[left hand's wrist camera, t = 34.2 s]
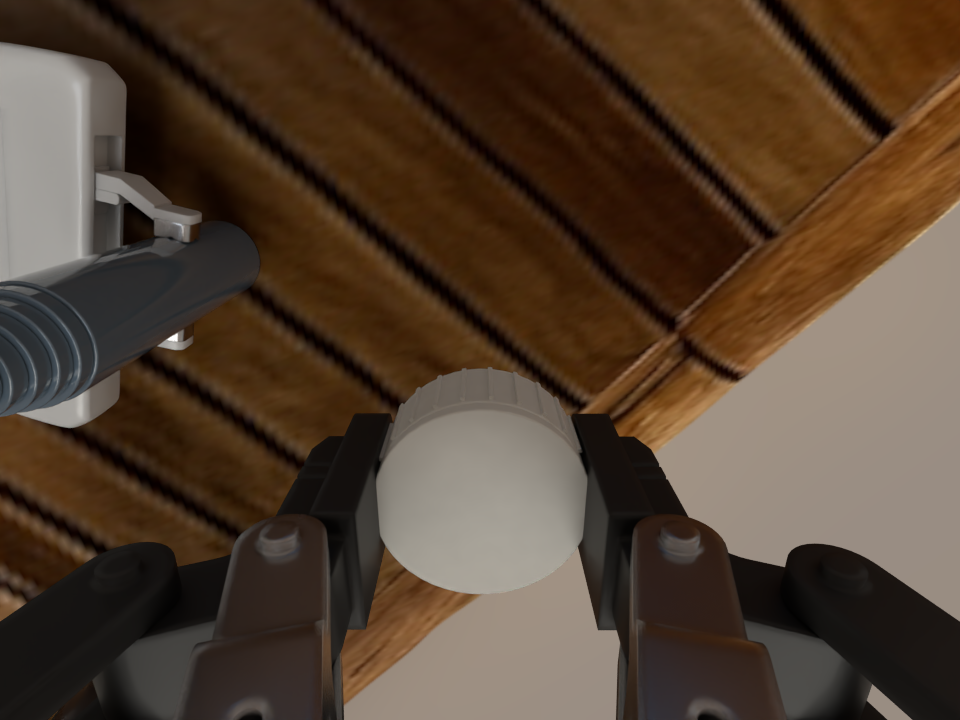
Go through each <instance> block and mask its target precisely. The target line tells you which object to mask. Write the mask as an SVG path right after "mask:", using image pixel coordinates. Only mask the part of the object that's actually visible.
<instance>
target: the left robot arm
mask: <svg viewBox="0 0 960 720" xmlns="http://www.w3.org/2000/svg"><path fill="white" fill-rule="evenodd" d="M571 419H572V422H573V425H574V428H575V431H576V434H577V437H578V440H579V443H580V446H581V449H582V453H580V454H581V457H582V460H583V463H584V466H585V469H586V472H587V477H588V479H587V493H586V505H585V518H584V530H583V539H582V541H581V542H580V544H579V545H578V549H579V553H580V557H581V561H582V565H583V569H584V574H585V578H586V582H587V586H588V590H589V594H590V598H591V603H592V607H593V611H594V615H595V619H596V624H597V628H598V630H617V633H618V636H619V640H620V649H619V658H618V673H617V706H616V720H887V719H886V718H885V717H884V716H883V715H882V714H880V713H879V712H878V711H877V710H876V709H875V708H874V707H873V706H872V705H871V704H870V703H869V702H867V698H868V695H869V692H870V689H871V686H872V684H873V685H874V686H875V687H876V688H877V689H879V690H880V691H881V692H882V693H883V694H884V695H885V696H887V697H888V698H889V699H890V700H891V701H892V702H893V703H894V704H895V705H897V706H898V707H899V708H900V709H901V710H902V711H903V712H904V713H906V714H907V715H908V716H909V717H910V718H911V719H912V720H960V621H958V620H957V619H955V618H954V617H952V616H951V615H949V614H948V613H946V612H945V611H944V610H942V609H941V608H939V607H938V606H936V605H935V604H933V603H932V602H930V601H929V600H928V599H926V598H925V597H923V596H922V595H920V594H919V593H917V592H916V591H914V590H913V589H912V588H910V587H909V586H907V585H906V584H904V583H903V582H901V581H900V580H898V579H897V578H896V577H894V576H893V575H891V574H890V573H888V572H887V571H885V570H884V569H883V568H881V567H880V566H878V565H877V564H875V563H874V562H872V561H870V560H869V559H867V558H865V557H863V556H861V555H859V554H857V553H854V552H852V551H849V550H846V549H843V548H840V547H836V546H832V545H825V544H805V545H801V546H798V547H796V548H794V549H793V550H791V552H790V553H789V554H788V557H787V561H786V566H785V567H781V566H776V565H772V564H767V563H763V562H758V561H753V560H749V559H745V558H741V557H738V556H735V555H732V554H730V553H728V550H727V547H726V544H725V542H724V541H723V539H722V538H721V537H720V535H719V534H718V533H717V532H715V531H714V530H713V529H712V528H710V527H709V526H707V525H706V524H704V523H702V522H700V521H697V520H695V519H692V518H689V517H688V515H687V513H686V512H685V510H684V508H683V506H682V504H681V503H680V501H679V499H678V497H677V495H676V494H675V492H674V490H673V488H672V486H671V485H670V483H669V481H668V480H667V479H666V476H665V474H664V472H663V470H662V468H661V467H659V463H658V461H657V459H656V458H655V456H654V454H653V452H652V450H651V449H650V448H649V447H647V446H646V445H644V444H643V443H642V442H640V441H639V440H638V439H636V438H635V437H619V436H618V434H617V431H616V429H615V427H614V425H613V423H612V421H611V419H610V416H609V415H608V414H572V417H571ZM390 423H392V417H391V414H390V413H356V414H355V415H354V416H353V418H352V421H351V423H350V425H349V427H348V429H347V432H346V434H345V436H329V437H328V438H326V439H325V440H324V441H322V442H321V443H320V444H318V445H317V446H316V447H314V448H313V449H312V450H311V452H310V454H309V456H308V458H307V460H306V461H305V463H304V467H302V469H301V471H300V472H299V474H298V479H296V480H295V482H294V483H293V485H292V487H291V489H290V491H289V493H288V494H287V496H286V498H285V500H284V502H283V504H282V505H281V507H280V509H279V511H278V513H277V515H276V516H274V517H271V518H268V519H265V520H263V521H260V522H258V523H256V524H254V525H253V526H251V527H250V528H248V529H247V530H246V531H245V532H243V533H242V534H241V535H240V537H239V538H238V539H237V541H236V542H235V544H234V547H233V550H232V554H230V555H227V556H224V557H221V558H217V559H213V560H208V561H203V562H199V563H194V564H189V565H185V566H180V567H177V563H176V559H175V555H174V553H173V551H172V550H171V549H170V548H169V547H167V546H165V545H163V544H159V543H154V542H141V543H133V544H128V545H124V546H120V547H117V548H114V549H111V550H109V551H107V552H104V553H102V554H100V555H98V556H96V557H94V558H93V559H91V560H89V561H88V562H86V563H85V564H83V565H82V566H80V567H79V568H77V569H76V570H75V571H73V572H72V573H70V574H69V575H67V576H66V577H64V578H63V579H61V580H60V581H59V582H57V583H56V584H54V585H53V586H51V587H50V588H48V589H47V590H46V591H44V592H43V593H41V594H40V595H38V596H37V597H35V598H34V599H32V600H31V601H30V602H28V603H27V604H25V605H24V606H22V607H21V608H19V609H18V610H16V611H15V612H14V613H12V614H11V615H9V616H8V617H6V618H5V619H3V620H2V621H1V622H0V720H48V719H49V718H50V717H51V716H52V715H53V714H54V713H56V712H57V711H58V712H57V713H56V715H55V716H54V717H53V719H52V720H344V706H343V672H342V658H341V650H342V647H343V643H344V639H345V636H346V632H347V629H366V626H367V622H368V617H369V613H370V609H371V605H372V600H373V596H374V592H375V587H376V583H377V579H378V575H379V570H380V566H381V562H382V557H383V553H384V549H385V544H384V542H383V540H382V538H381V536H380V528H379V515H378V502H377V489H376V476H377V473H378V469H379V466H380V463H381V461H379V456H380V453H381V450H382V447H383V443H384V440H385V437H386V434H387V431H388V428H389V425H390Z"/></svg>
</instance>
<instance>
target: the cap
mask: <svg viewBox="0 0 960 720" xmlns="http://www.w3.org/2000/svg"><path fill="white" fill-rule="evenodd" d="M580 453H582V449H581V446H580V443H579V440H578V437H577V434H576V431H575V428H574V425H573V422H572V419H571V416H570V415H568V416H567V415H566V413H565V411H564V410H563V409H562V407H561V406H560V403H559V400H558V398H557V397H554V398H553V397H552V396H551V395H550V394H549V393H548V392H547V391H545V390H544V389H543V388H542V387H541V386H540V383H538V382H536V383H534V382H532V381H530V380H529V379H526V378H524V377H521V376H519V375H518V374H517V372H513V373H510V372H506V371H501V370H494V369H492V367H488V369H470V370H466V368H464V369H462V371H458V372H454V373H451V374H448V375H445V376H442V375H439V376H438V377H437V379H436V380H434V381H432V382H430V383H428V384H427V385H425V386H424V387H422V388H420V387H418V388H417V389H416V393H415V394H414V395H412V396H411V397H410V398H409V399H408V401H407V402H406V403H405V404H403V403H402V404H401V405H400V407H399V410H398V414H397V416H396V418H395V420H394V423H390V425H389V428H388V431H387V434H386V437H385V440H384V443H383V447H382V450H381V453H380V456H379V461H381V463H380V466H379V469H378V473H377V476H376V489H377V502H378V515H379V528H380V536H381V538H382V540H383V542H384V544H385V546H386V547H387V548H388V550H389V551H390V552H391V554H392V555H393V556H394V557H395V558H396V559H397V560H398V561H399V563H400V564H401V565H403V566H404V567H405V568H406V569H408V570H409V571H410V572H411V573H413V574H415V575H416V576H418V577H419V578H421V579H423V580H425V581H427V582H429V583H431V584H433V585H436V586H439V587H441V588H444V589H448V590H452V591H456V592H462V593H469V594H494V593H502V592H507V591H513V590H516V589H519V588H523V587H526V586H528V585H530V584H533V583H535V582H537V581H539V580H541V579H543V578H545V577H546V576H548V575H549V574H551V573H552V572H554V571H555V570H556V569H558V568H559V567H560V566H561V565H562V564H563V563H564V562H566V561H567V560H568V558H569V557H570V556H571V555H572V554H573V552H574V551H575V550H576V548H577V547H578V545H579V544H580V542H581V541H582V539H583V530H584V518H585V505H586V493H587V479H588V477H587V472H586V469H585V466H584V463H583V460H582V457H581V454H580Z"/></svg>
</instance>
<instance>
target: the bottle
mask: <svg viewBox="0 0 960 720" xmlns="http://www.w3.org/2000/svg"><path fill="white" fill-rule="evenodd" d="M259 268H260V259H259V254H258V251H257V248H256V246H255V244H254V242H253V241H252V239H251V238H250V237H249V236H248V235H247V234H246V233H245V232H244V231H243V230H242V229H240V228H239V227H237V226H235V225H234V224H231V223H229V222H225V221H219V220H213V221H207V222H204V223H201V230H200V239H199V240H194V242H179V241H176V240H174V239H173V238H172V237H170V238H163V237H158V236H156V237H152V238H149V239H145V240H142V241H138V242H135V243H132V244H128V245H125V246H121V247H118V248H114V249H111V250H108V251H104V252H101V253H97V254H94V255H90V256H87V257H83V258H80V259H77V260H73V261H70V262H66V263H63V264H59V265H56V266H53V267H49V268H46V269H42V270H39V271H35V272H32V273H28V274H25V275H22V276H18V277H15V278H11V279H8V280H4V281H1V282H0V417H2V416H9V415H13V414H16V413H22V412H29V411H33V410H36V409H43V408H49V407H53V406H55V405H58V404H60V403H62V402H64V401H68V400H71V399H73V398H75V397H77V396H79V395H80V394H82V393H84V392H85V391H87V390H88V389H90V388H92V387H93V386H95V385H96V384H98V383H99V382H101V381H103V380H104V379H106V378H107V377H109V376H111V375H112V374H114V373H115V372H117V371H118V370H120V369H122V368H123V367H125V366H126V365H128V364H130V363H131V362H133V361H134V360H136V359H137V358H139V357H141V356H142V355H144V354H145V353H147V352H149V351H150V350H152V349H153V348H155V347H156V346H158V345H160V344H161V343H163V342H164V341H166V340H167V339H169V338H171V337H172V336H174V335H175V334H177V333H179V332H180V331H182V330H183V329H185V328H186V327H188V326H190V325H191V324H193V323H194V322H196V321H198V320H199V319H201V318H202V317H204V316H205V315H207V314H209V313H210V312H212V311H213V310H215V309H217V308H218V307H220V306H221V305H223V304H224V303H226V302H228V301H229V300H231V299H232V298H234V297H235V296H237V295H239V294H240V293H242V292H243V291H245V290H247V289H248V288H249V287H250V286H251V285H252V284H253V283H254V281H255V280H256V278H257V276H258V273H259Z"/></svg>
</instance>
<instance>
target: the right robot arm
mask: <svg viewBox="0 0 960 720" xmlns="http://www.w3.org/2000/svg"><path fill="white" fill-rule="evenodd" d="M126 96H127V90H126V85H125V83H124V81H123V80H122V79H121V77H120V76H119V75H118V74H117V73H116V72H115V71H114V70H113V69H112V68H111V67H110V66H109V65H108V64H107V63H105V62H102V61H98V60H94V59H90V58H86V57H82V56H77V55H73V54H68V53H63V52H58V51H53V50H47V49H42V48H36V47H31V46H25V45H19V44H12V43H5V42H0V282H1V281H4V280H8V279H11V278H15V277H18V276H22V275H25V274H28V273H32V272H35V271H39V270H42V269H46V268H49V267H53V266H56V265H59V264H63V263H66V262H70V261H73V260H77V259H80V258H83V257H87V256H90V255H94V254H97V253H101V252H104V251H108V250H111V249H114V248H118V247H121V246H123V220H124V204H125V203H130V202H131V203H132V204H133V205H134V206H136V207H137V208H138V209H140V210H141V211H142V212H144V213H145V214H146V215H147V216H149V217H150V218H151V219H153V220H154V236H158V237H163V238H170V237H172V238H173V239H174V240H176V241H179V242H194V240H199V239H200V230H201V222H202V213H201V212H199V211H196V210H192V209H188V208H184V207H180V206H176V205H172V202H171V201H170V200H169V199H168V198H167V197H165V196H164V195H163V194H162V193H161V192H160V191H159V190H157V189H156V188H155V187H154V186H153V185H152V184H151V183H149V182H148V181H147V180H146V179H145V178H144V177H143V176H139V175H135V174H131V173H127V172H125V132H126ZM193 333H194V323H193V324H191V325H190V326H188V327H186V328H185V329H183V330H182V331H180V332H179V333H177V334H175V335H174V336H172V337H171V338H169V339H167V340H166V341H164V342H163V343H161V344H160V345H158V346H159V347H163V348H168V349H173V350H183V349H185V348H187V347H188V346H189V345H191V344H192V343H193ZM119 394H120V370H118V371H117V372H115V373H114V374H112V375H111V376H109V377H107V378H106V379H104V380H103V381H101V382H99V383H98V384H96V385H95V386H93V387H92V388H90V389H88V390H87V391H85V392H84V393H82V394H80V395H79V396H77V397H75V398H73V399H71V400H68V401H64V402H62V403H60V404H58V405H55V406H53V407H49V408H43V409H36V410H33V411H29V412H22V413H16V414H19V415H22V416H25V417H28V418H32V419H35V420H38V421H42V422H46V423H49V424H53V425H57V426H61V427H67V428H74V427H78V426H81V425H83V424H85V423H87V422H89V421H91V420H93V419H95V418H96V417H98V416H99V415H101V414H102V413H103V412H105V411H106V410H107V409H109V408H110V407H111V406H112V405H114V404H115V403H116V402H117V400H118V399H119Z"/></svg>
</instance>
